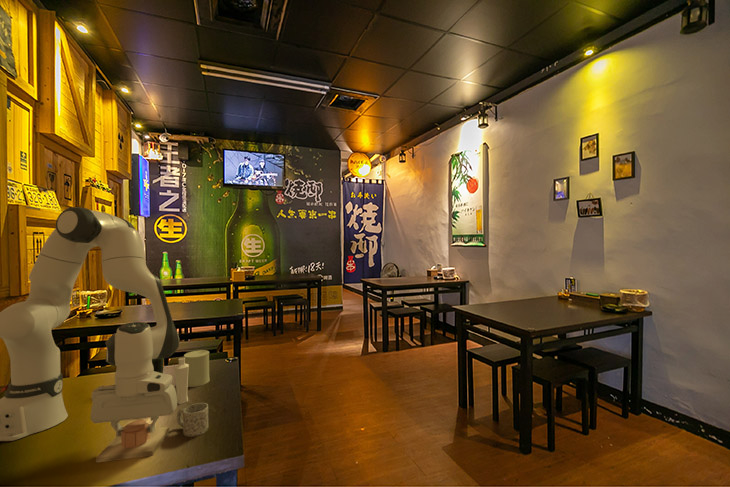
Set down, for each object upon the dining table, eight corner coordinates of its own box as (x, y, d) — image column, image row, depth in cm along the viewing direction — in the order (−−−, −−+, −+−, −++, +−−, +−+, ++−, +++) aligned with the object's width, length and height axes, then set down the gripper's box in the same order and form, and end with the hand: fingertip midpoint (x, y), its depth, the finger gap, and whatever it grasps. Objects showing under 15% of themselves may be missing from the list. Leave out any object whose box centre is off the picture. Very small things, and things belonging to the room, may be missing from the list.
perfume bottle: (183, 404, 116) (183, 361, 116) (172, 403, 117) (172, 360, 117) (193, 398, 121) (192, 356, 121) (182, 397, 122) (181, 356, 122)
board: (96, 462, 86) (96, 457, 86) (120, 436, 97) (120, 432, 97) (152, 455, 88) (152, 450, 88) (169, 430, 100) (169, 426, 100)
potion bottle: (147, 387, 131) (146, 341, 132) (137, 383, 136) (136, 338, 136) (168, 380, 138) (167, 336, 138) (158, 376, 143) (157, 333, 143)
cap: (118, 443, 92) (118, 426, 92) (142, 432, 97) (142, 417, 97) (128, 450, 89) (127, 433, 89) (152, 439, 94) (152, 422, 94)
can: (214, 380, 137) (214, 351, 137) (192, 389, 129) (192, 357, 129) (201, 376, 142) (200, 347, 142) (179, 384, 134) (178, 353, 134)
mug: (213, 426, 102) (213, 404, 102) (196, 438, 96) (196, 414, 96) (186, 421, 105) (186, 400, 105) (168, 433, 99) (168, 410, 99)
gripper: (84, 392, 88) (85, 445, 88) (170, 384, 92) (171, 435, 92) (98, 382, 94) (99, 432, 94) (178, 375, 98) (179, 423, 98)
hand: (135, 433), depth 93 cm, fingers closed on cap, 6 cm apart
